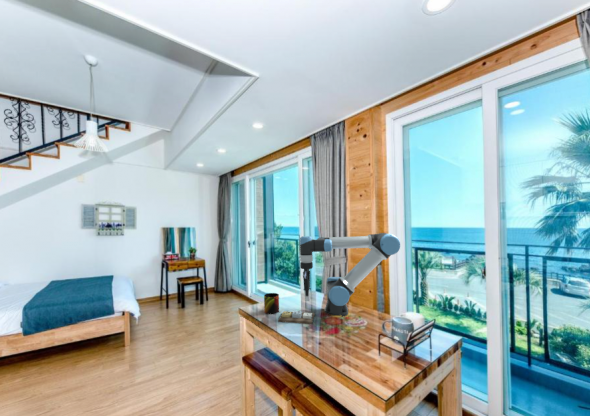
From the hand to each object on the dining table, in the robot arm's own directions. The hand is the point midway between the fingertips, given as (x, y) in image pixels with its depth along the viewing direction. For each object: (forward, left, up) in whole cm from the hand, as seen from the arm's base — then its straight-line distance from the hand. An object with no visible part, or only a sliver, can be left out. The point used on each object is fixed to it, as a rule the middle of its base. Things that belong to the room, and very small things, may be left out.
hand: (307, 300), depth 160 cm
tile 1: (+13, 0, -12) cm, 17 cm away
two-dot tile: (+7, 0, -11) cm, 13 cm away
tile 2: (0, 0, -12) cm, 12 cm away
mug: (+27, -10, -12) cm, 31 cm away
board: (+7, 0, -12) cm, 14 cm away
